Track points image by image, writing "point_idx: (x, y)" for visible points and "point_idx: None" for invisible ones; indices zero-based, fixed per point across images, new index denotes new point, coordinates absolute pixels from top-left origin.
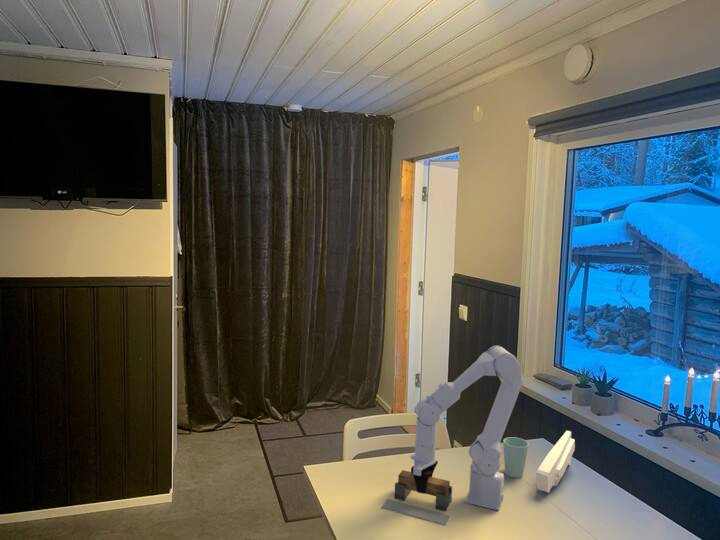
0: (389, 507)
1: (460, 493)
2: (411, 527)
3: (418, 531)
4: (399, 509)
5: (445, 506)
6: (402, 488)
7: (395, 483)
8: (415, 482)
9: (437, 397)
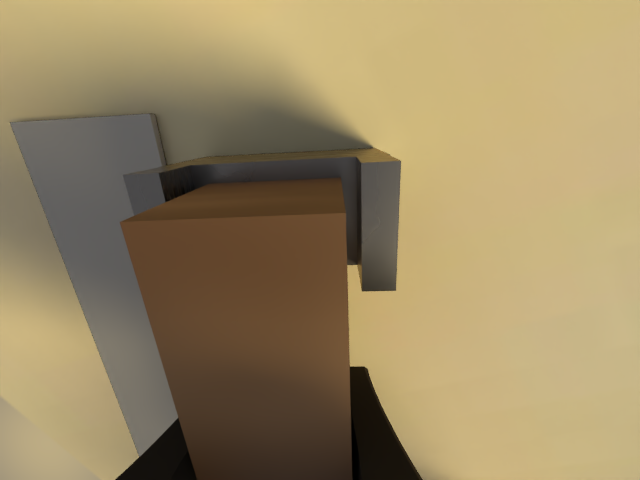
0: (58, 183)
1: (482, 464)
2: (12, 358)
3: (14, 392)
4: (89, 253)
5: None
6: None
7: (125, 180)
8: (153, 443)
9: None
